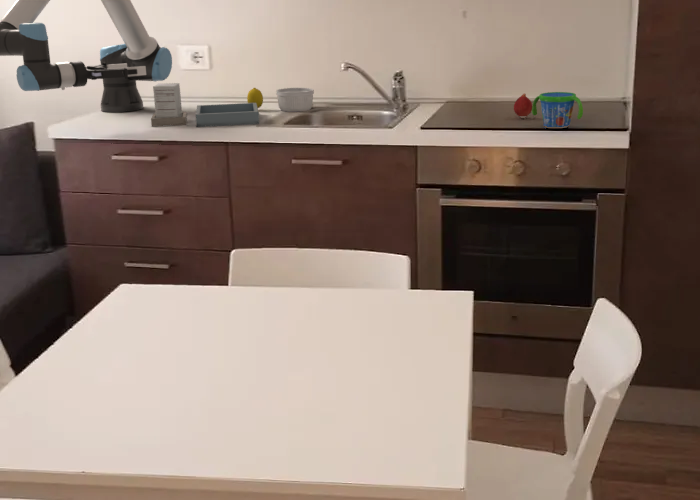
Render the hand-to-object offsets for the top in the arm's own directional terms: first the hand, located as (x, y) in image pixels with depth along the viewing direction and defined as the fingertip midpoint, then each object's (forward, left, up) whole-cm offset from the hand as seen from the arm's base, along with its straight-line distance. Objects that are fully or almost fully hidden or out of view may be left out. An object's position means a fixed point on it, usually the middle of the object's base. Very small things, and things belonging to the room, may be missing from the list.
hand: (136, 69), depth 279 cm
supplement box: (-5, +9, -19) cm, 21 cm away
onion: (+21, +121, -19) cm, 124 cm away
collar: (-5, +9, -18) cm, 21 cm away
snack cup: (+40, +125, -19) cm, 132 cm away
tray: (-4, +28, -18) cm, 33 cm away
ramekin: (-21, +52, -19) cm, 59 cm away
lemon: (-23, +38, -19) cm, 48 cm away
